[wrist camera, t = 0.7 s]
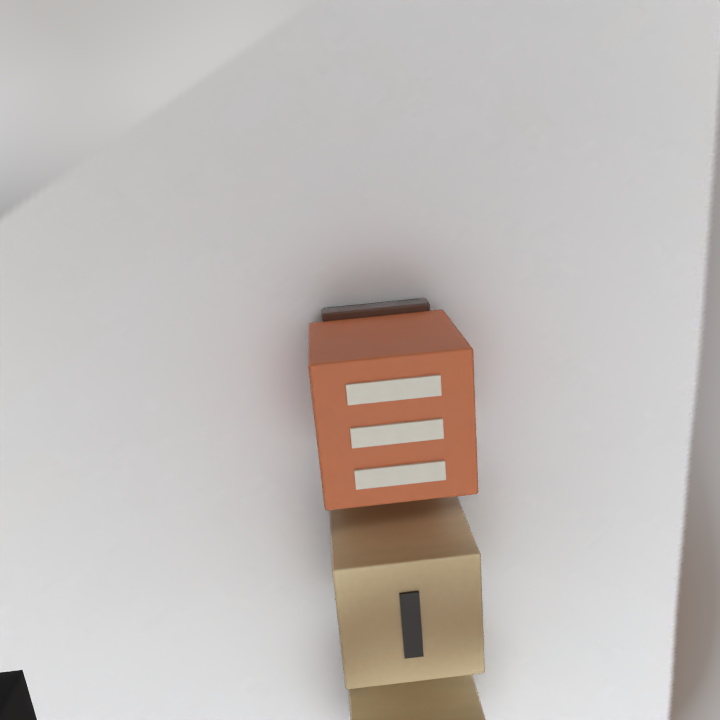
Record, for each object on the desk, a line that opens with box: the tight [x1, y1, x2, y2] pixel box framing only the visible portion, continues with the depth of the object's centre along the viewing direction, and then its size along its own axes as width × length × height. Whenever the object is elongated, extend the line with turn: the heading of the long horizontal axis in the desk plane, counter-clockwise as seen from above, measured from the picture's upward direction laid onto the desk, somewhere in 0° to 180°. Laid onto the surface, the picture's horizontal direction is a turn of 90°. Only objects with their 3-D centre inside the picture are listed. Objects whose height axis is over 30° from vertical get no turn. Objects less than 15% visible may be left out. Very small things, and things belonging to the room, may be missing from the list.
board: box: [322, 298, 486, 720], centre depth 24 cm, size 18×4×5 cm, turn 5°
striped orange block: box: [308, 310, 478, 510], centre depth 21 cm, size 4×4×5 cm
